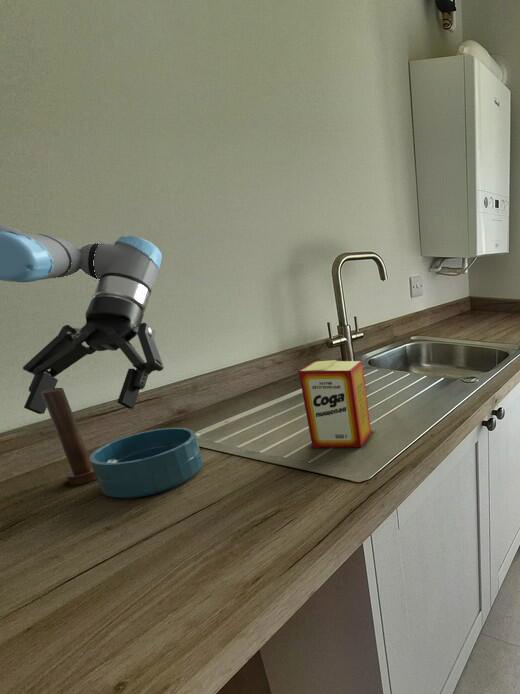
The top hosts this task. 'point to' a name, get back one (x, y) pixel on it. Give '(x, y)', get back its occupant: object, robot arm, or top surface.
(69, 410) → the stirring stick
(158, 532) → the top surface
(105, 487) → the bowl
